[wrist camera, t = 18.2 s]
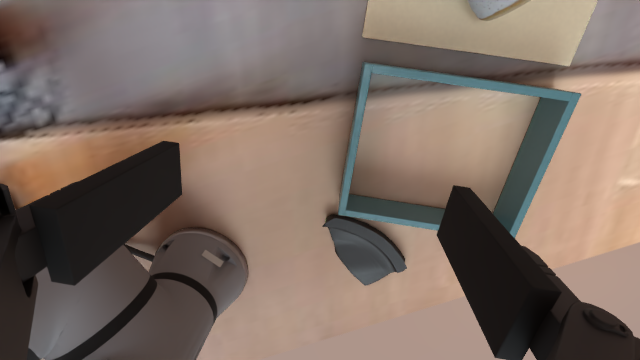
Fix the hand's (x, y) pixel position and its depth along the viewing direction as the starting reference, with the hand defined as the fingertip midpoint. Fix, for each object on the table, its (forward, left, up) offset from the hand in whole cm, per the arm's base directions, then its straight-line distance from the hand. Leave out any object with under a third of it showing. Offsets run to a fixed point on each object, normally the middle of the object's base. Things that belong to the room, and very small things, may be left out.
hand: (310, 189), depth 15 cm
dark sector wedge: (+8, -21, -27) cm, 35 cm away
